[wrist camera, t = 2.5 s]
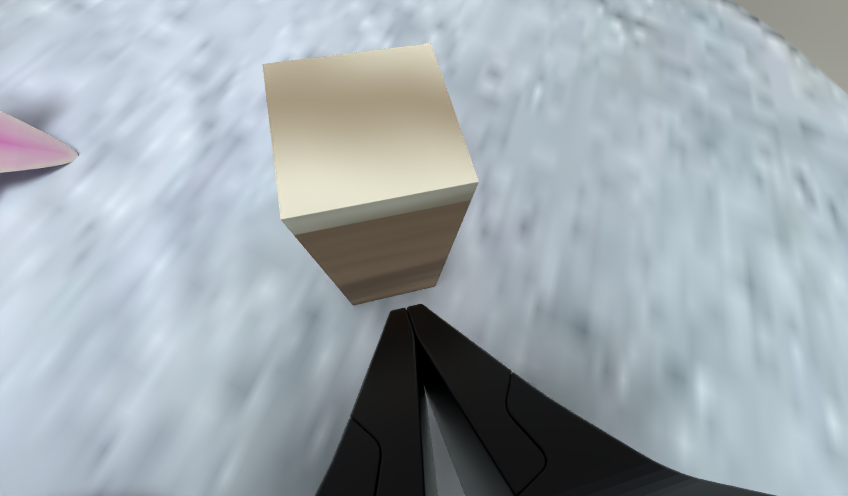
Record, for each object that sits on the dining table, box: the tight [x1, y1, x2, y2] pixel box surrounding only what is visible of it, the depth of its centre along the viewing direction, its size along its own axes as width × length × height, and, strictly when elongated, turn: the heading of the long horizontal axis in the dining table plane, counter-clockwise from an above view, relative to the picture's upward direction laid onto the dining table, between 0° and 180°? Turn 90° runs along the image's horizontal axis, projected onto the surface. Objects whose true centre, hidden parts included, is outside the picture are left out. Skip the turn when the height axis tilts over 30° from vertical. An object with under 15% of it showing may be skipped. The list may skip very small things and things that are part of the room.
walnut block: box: [263, 43, 479, 305], centre depth 14 cm, size 5×5×12 cm
